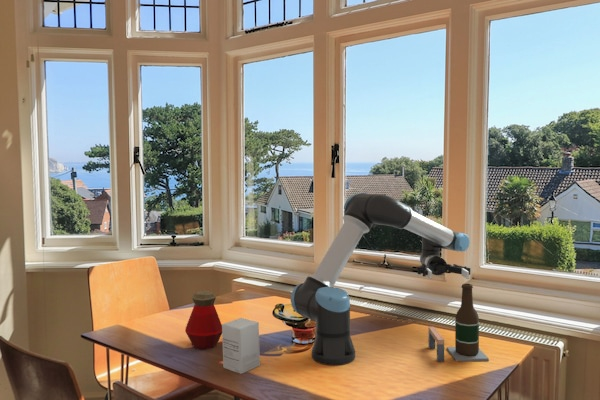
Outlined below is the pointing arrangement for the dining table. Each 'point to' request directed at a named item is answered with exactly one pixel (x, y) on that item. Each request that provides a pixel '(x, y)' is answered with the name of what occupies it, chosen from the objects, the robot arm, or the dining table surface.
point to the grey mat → (458, 357)
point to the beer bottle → (467, 325)
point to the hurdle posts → (439, 347)
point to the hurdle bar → (436, 335)
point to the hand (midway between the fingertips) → (449, 275)
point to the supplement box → (240, 345)
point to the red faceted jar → (204, 321)
